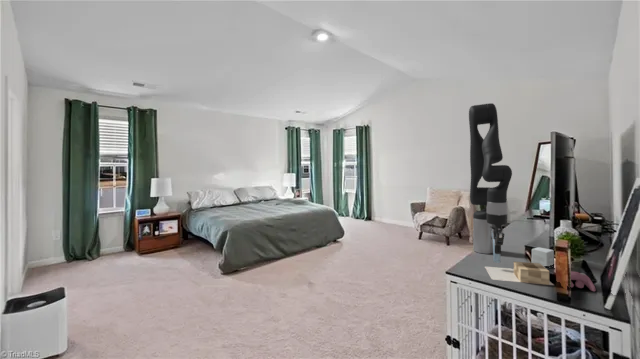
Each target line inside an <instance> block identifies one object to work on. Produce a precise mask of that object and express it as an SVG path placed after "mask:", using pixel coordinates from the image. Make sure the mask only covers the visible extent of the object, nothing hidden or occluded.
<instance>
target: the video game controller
mask: <svg viewBox="0 0 640 359" xmlns="http://www.w3.org/2000/svg"><path fill="white" fill-rule="evenodd" d="M570 271H571V270H570ZM570 281H571V289H572V288H574V286H575V287H576V288H579V289H583V288H584V287H585V286H586V287H587V288H588V289H589V290H590V291H591V292H596V287H595V285H594V283H593V281H592V280H591V278H590V277H589V276H588V275H587V274H585V273H583V272H580V271H579V272H578V271H571V280H570ZM573 281H575V283H573Z"/></svg>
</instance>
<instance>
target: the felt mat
mask: <svg viewBox="0 0 640 359" xmlns="http://www.w3.org/2000/svg"><path fill="white" fill-rule="evenodd" d="M484 268H485V269H486V272H487V274H488V275H489V277H490V279H491V280H492V281H493V280H494V281H504V282H512V283H513V282H514V283H521V282H520V281H519V280H518V278H517V277H516V276H515V275H514V268H509V267H496V266H495V267H494V266H484ZM523 283H525V282H523ZM533 284H535V285H536V283H533ZM546 285H547V284H544V286H546ZM547 286H554V283H552V281H550V280H549V285H547Z"/></svg>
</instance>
